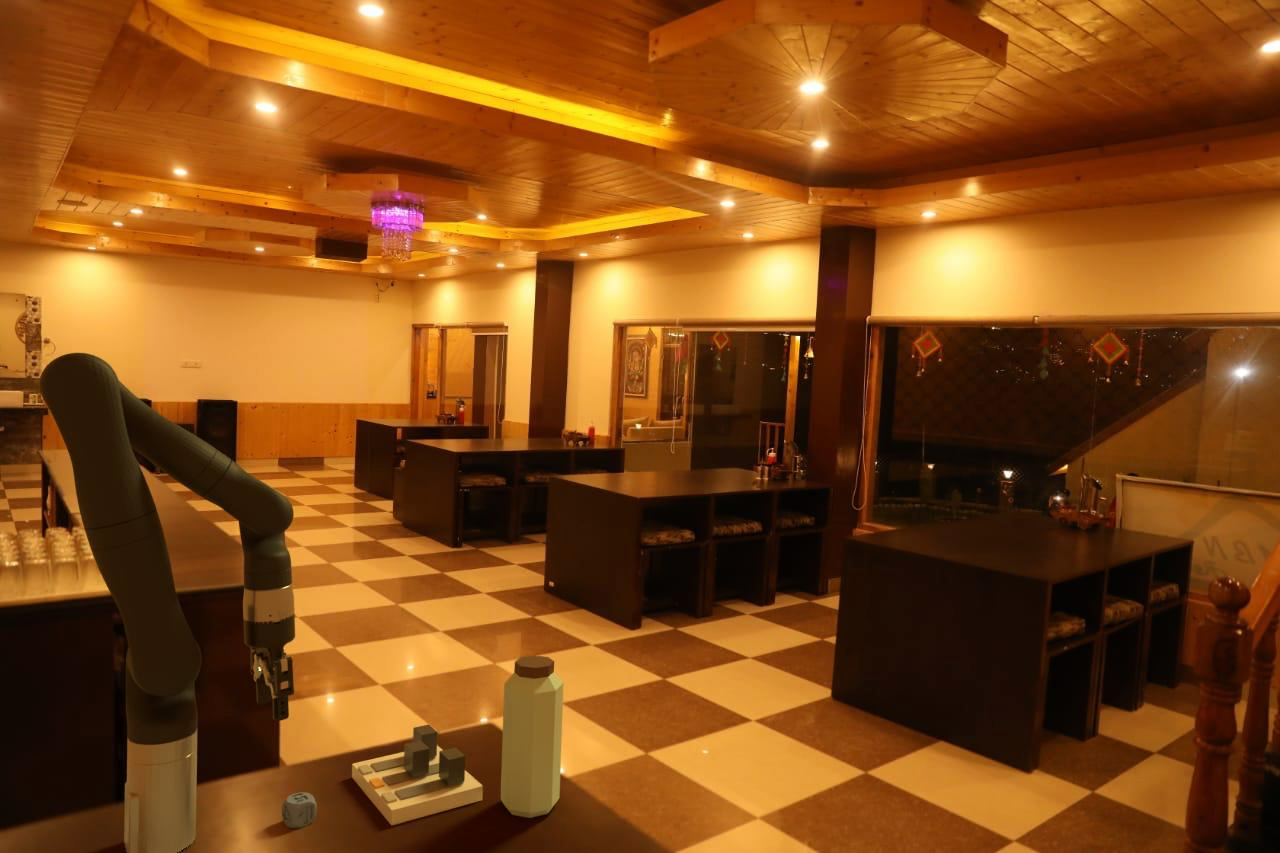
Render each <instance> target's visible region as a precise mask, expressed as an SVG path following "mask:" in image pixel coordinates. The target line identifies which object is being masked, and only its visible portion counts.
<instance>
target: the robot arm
mask: <svg viewBox="0 0 1280 853" xmlns="http://www.w3.org/2000/svg"><path fill="white" fill-rule="evenodd" d="M38 383H39V385H38V386H39V392H40V395H41V397H42V399H43V402H44V403H45V405H46V406H47V409H49V412H50V413H51V415H52V417H53V419H54V421H55V423H56V427H57V428H58V431H59V433H60V436H61V437H62V440H63V442H64V444H65V446H66V449H67V452H68V455H69V459H70V462H71V465H72V467H71V468H72V470H73V471H72V473H73V480H74V486H75V495H76V499H77V504H78V509H79V513H80V518H81V522H82V526H83V529H84V532H85V535H86V538H87V541H88V544H89V548H90V550H91V553H92V555H93V559H94V561H95V563H96V566H97V568H98V571H99V573H100V574H101V577H102V579H103V582H104V583H105V585H106V586H107V589H108V591H109V593H110V595H111V597H112V598H113V601H114V603H115V605H116V607H117V609H118V611H119V613H120V616H121V619H122V622H123V626H124V631H125V635H126V639H127V644H128V648H127V652H126V658H125V661H126V662H125V711H126V712H125V714H126V725H127V726H126V727H127V744H126V745H127V749H126V750H127V755H126V756H127V757H126V759H127V760H126V764H127V766H126V782H125V783H124V820H123V821H124V826H123V827H124V828H123V830H124V831H123V832H124V833H123V835H124V836H123V844H125V845H124V849H125V848H126V849H125V852H127V853H177V852H178V853H180V852H182V851H181V850H183V849H184V848H186V847H187V848H189V847H190V846H191V845H192V844H193V843H194V842H195V840H196V838H195V837H196V835H197V834H196V833H197V832H196V828H197V780H198V779H197V775H198V774H197V770H198V768H197V767H198V766H197V765H198V723H199V722H198V721H199V718H198V707H197V700H196V693H195V692H196V690H195V681H196V679H197V678H198V676H199V673H200V671H201V666H202V659H203V658H202V657H203V656H202V652H201V649H200V646H199V644H198V643H197V640H196V639H195V637H194V635H193V633H192V630H191V629H190V627H189V624H188V621H187V620H186V616H185V615H184V613H183V610H182V607H181V605H180V601H179V598H178V595H177V591H176V585H175V581H174V574H173V570H172V563H171V558H170V554H169V550H168V545H167V540H166V537H165V533H164V528H163V526H162V522H161V518H160V516H159V512H158V510H157V505H156V502H155V500H154V498H153V494H152V493H151V489H150V487H149V484H148V482H147V480H146V477H145V474H144V472H143V470H142V468H141V466H140V464H139V462H138V460H137V458H136V456H135V453H134V451H133V450H135V452H137V453H138V454H140V455H141V456H143V457H144V458H146V459H147V460H148V461H149V462H151V463H152V464H153V465H155V466H156V467H157V468H159V469H160V470H161V471H162V472H164V473H165V474H166V475H167V476H169V477H171V478H172V479H173V480H175V481H177V482H178V483H179V484H181V485H182V486H184V487H185V488H187V489H188V490H189V491H191V492H193V493H194V494H196V495H198V496H199V497H201V498H202V499H203V500H205V501H207V502H209V503H211V504H214V505H215V506H217V507H219V508H221V509H222V510H224V512H226V513H227V514H229V515H230V516H231V517H233V519H235V520H236V521H238V528H239V535H240V536H239V537H240V542H241V546H242V552H243V587H244V588H243V589H244V590H243V599H242V610H243V611H242V612H243V613H242V615H243V637H244V638H243V641H244V644H245V645H246V646H247V647H249V649H250V650H249V651H250V652H249V653H250V654H249V655H250V656H249V657H250V660H249V661H250V674H251V676H253V680H254V682H255V690H256V692H255V693H256V695H255V696H256V703H257V704H258V705H266V704H269V703H271V702H272V719H273V720H274V722H280V721H284V720H287V719H288V718H289V716H290V710H289V696H293V695H294V694H295V687H294V685H295V684H294V667H293V658H292V656H288V655H287V652H285V649H284V648H285V646H286V645H287V644H290V643H291V642H293V640H295V638H296V620H295V619H296V618H295V616H296V615H295V612H296V611H295V595H294V589H293V576H292V574H293V573H292V570H293V569H292V560H291V554H290V551H289V549H288V547H287V543H286V530H288V528H289V527H290V526H291V525H292V523H293V520H294V512H295V511H294V508H293V505H292V502H291V501H290V500H289V498H287V497H286V495H285V494H282V493H281V492H279V491H278V490H276V489H275V488H273V487H272V486H270V485H268V484H267V483H265V482H263V481H262V480H260V479H258V478H257V477H255V476H254V475H251V474H250V473H248V472H247V471H246V470H245V469H244V468H242V467H241V466H240V465H239V464H238V463H237V462H235V461H234V460H233V459H231V458H230V457H228V456H227V455H226V454H224V453H222V452H221V451H220V450H218V449H217V448H215V447H213V445H211V444H209V443H208V442H206V441H205V440H203V439H202V438H200V437H198V436H197V435H195V434H194V433H192V432H190V431H189V430H187V429H185V428H183V427H182V426H180V425H178V424H176V423H175V422H173V421H172V420H170V419H168V418H167V417H165V416H163V415H162V414H160V413H159V412H158V411H157V410H154V408H152V407H150V406H149V405H148V404H147V403H146V402H144V401H142V399H140V398H139V397H138V396H136V395H135V394H134V393H133V391H130V389H129V388H128V387H127V386H125V385H124V384H123V382H122V381H121V380H119V378H118V376H117V372H115V370H114V368H113V367H112V366H111V365H110V364H109V363H108V362H107V361H105V360H104V359H102V357H100V356H97V355H94V354H91V353H87V352H70V353H66V354H63V355H60V356H58V357H56V358H54V359H52V360H51V361H50V362H49V363H48V364H46V366H45V367H44V368H43V369H42V373H41V375H40V377H39V381H38ZM281 684H282V685H283V688H281ZM193 841H194V842H193ZM190 844H191V845H190ZM189 845H190V846H189ZM188 846H189V847H188ZM187 848H186V849H187ZM184 850H185V849H184ZM184 850H183V851H184ZM179 851H180V852H179Z"/></svg>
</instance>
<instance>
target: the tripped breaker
mask: <svg viewBox="0 0 1280 853" xmlns="http://www.w3.org/2000/svg"><path fill="white" fill-rule="evenodd" d="M403 744H404V747H403V748H404V751H403V752H404V770H405V771H406V772H407V773H408V774H409V775H410V776H411V777H412V778H413V777H417V776H421V775H425V774H429V747H427V746H426V745H425V744H424V743H423V742H422V741H421V740H420V741H415V742H413V741H412V742H406V743H403Z"/></svg>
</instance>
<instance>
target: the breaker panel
mask: <svg viewBox="0 0 1280 853" xmlns="http://www.w3.org/2000/svg"><path fill="white" fill-rule="evenodd" d="M443 750H444V749H443V748H441V747H440V746H439V745H438V744H437V756H434V757H430V758H429V774H425V775H421V776H417V777H413V778H412V777H411V776H410V775H409V774H408V773H407V772H406V771H405V770H404V751H401V752H398V753H397V752H396V753H394V754H390V755H389V754H388V755H384V756H381V757H376V758H372V759H368V760H362V761H359V762H354V763H352V765H351V769H352V770H351V778H352V779H353V781H354V782H355V783H356V784H357V785H358V787H359V788H360V789H361V791H362V792H363V793H364V794H365V795H366V797H368V799H369V800H370V801H371V803H372V804H373V805H374V806H375V808H377V810H378V812H380V813H381V815H382V816H383V817H384V818H385V820H386V821H387V822H388V823H389V824H390V826H394V825H399V824H403V823H406V822H409V821H413V820H416V819H420V818H424V817H427V816H430V815H434V814H437V813H441V812H445V811H448V810H451V809H455V808H459V807H462V806H466V805H470V804H473V803H477V802H480V801H483V793H484V790H483V789H484V788H483V787H484V786H483V784H482V783H480V782H479V781H478V780H477V779H476V778H475V777H474V776H473V775H471V774H470V773H469V772H468V771H467V770H466V769H465V780H464V782H461V783H457V784H453V785H449V786H448V785H447V784H446V783H445V782H444V781H443V780H442V779H441V778H440V777H439V751H443Z"/></svg>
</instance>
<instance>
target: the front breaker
mask: <svg viewBox="0 0 1280 853" xmlns="http://www.w3.org/2000/svg"><path fill="white" fill-rule="evenodd" d="M442 750H443V751H439V777H440V778H441V779H442V780H443V781H444V782H445V783H446V784H447V785H448V786H449V785H453V784H457V783H461V782H464V780H465V770H466V767H465V766H466V755H465V754H464V753H462V752H461V751H460V750H459V749H458V748H457V747H452V748H448V749H442Z"/></svg>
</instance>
